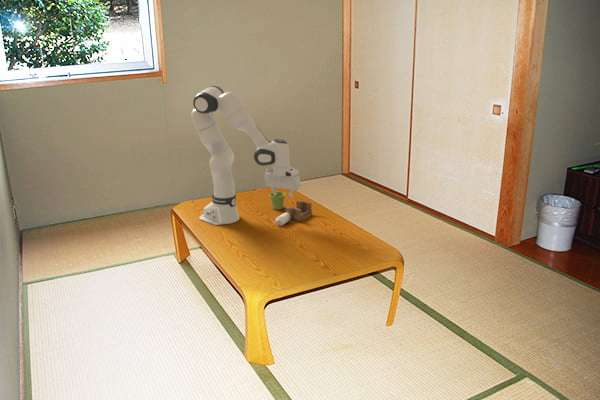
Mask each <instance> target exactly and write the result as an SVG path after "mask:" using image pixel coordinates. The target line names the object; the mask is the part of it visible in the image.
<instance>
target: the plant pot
mask: <svg viewBox="0 0 600 400" xmlns="http://www.w3.org/2000/svg"><path fill="white" fill-rule="evenodd" d="M268 196H269V198H270V202H271V207H272V209H273V210H276V211H279V210H280V211H281V210H282V209H284V202H285V196H286V193H285V192H283V191H277V195H273V191H271V192H270V193H269V194H268Z"/></svg>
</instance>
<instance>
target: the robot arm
mask: <svg viewBox="0 0 600 400" xmlns="http://www.w3.org/2000/svg"><path fill="white" fill-rule="evenodd" d="M192 102H193V103H192V104H193V109H192V111H191V113H190V115H191V120H192V123H193V126H194V128H195V131H196V133H197V135H198V137H199V139H200V142H201V144H202V145H203V146H204V147H205V148H206V150H207V151H208V153H209V154H210V155H211V157H210V159H209V170H210V173H211V178H212V182H213V193H214V194H213V195H211V197H210V200H211V202H209V203H208V204H207V205H206V206H204V208H203V212H202V214H201V215H200V216H199V218H198V219H199V221H202V222H206V223H209V224H211V225H214V226H220V225H221V226H222V225H228V224H234V223H236V222H238V221H240V216H239V212H238V208H237V196H236V195H237V194H236V188H235V180H234V176H233V170H232V169H233V168H232V167H233V163H234V162H235V154H234V151H233V150H232V149H231V147H230V145H229V143H228V142H227V141H226V140H225V138H224V136H223V135H222V132H221V130H220V127H219V126H218V124H217V121H216V119H215V117H214V112H217V111H220V112H221V113H222V114H223V116H224V117H225V118H226V120H227V122H228V123H229V124H230V125H231V126H232V127H233V128H234V129H235V130H238V131H243V132H244V133H246V134H247V135H248V137H250V140H252V142H253V143H254V144H255V146H256V150H255V151H254V154H253V160H254V161H255V163H256V165H259V166H265V167H266V166H271V165H272V169H270V168H267V169H266V170H264V185H265V187H269V188H270V190H271V192H273V195H277V192H278V191H277V190H276V188H277V189H284V190H289V191H290V193H288V194H287V195H288V198H293V196H294V195H293V194H294V192H295V191H298V190H299V189H301V187H302V186H301V185H302V184H301V178H300V175H299V174H300V171H299V169H296V168H294V167H292V166H291V163H290V146H289V143H288V142H287V141H286V140H284V139H280V138H279V139H273V140H272V141H270V140H268V138H267V137H266V136H265V135H264V134H263V132H262V131H261V129H260V128H259V127H258V126H257V124H256V123H255V120H253V118H252V116H251V114H250V113H249V111H248V110H247V108H246V106H245V105H244V104H243V102H242V101H241V99H240V98H239V97H238V96H237V95H236V94H235V93H234V92H232V91H226V92H224V90H223V89H222V88H221V87H219V86H216V85H211V86H209V87H206V88H204V89H203V90H201V91H200V92H198V93H197V94H196V95H195V96H194V98H193V101H192Z"/></svg>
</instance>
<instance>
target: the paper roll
mask: <svg viewBox="0 0 600 400" xmlns="http://www.w3.org/2000/svg"><path fill="white" fill-rule="evenodd" d="M290 221H291V216H290V214H289V213H287V212H286V211H285V212H283V213H282V214H281V215H279V216H277V217H276V218H275V221H274V223H275V224H276V226H278V227H283V226H284V225H285V224H287V223H288V222H290Z"/></svg>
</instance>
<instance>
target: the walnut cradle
mask: <svg viewBox="0 0 600 400" xmlns="http://www.w3.org/2000/svg"><path fill="white" fill-rule="evenodd" d="M295 202H296V207H290V206H285V213H286V212H287V213H289V214H290V216H291V220H290V221H293V222H297V223H302V222H303V221H304V220H306V219H308V218H309V217H311V216H312V214H313V213H312V212H313V211H312V205H313V204H312V202H309V201H304V200H296V201H295Z"/></svg>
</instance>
